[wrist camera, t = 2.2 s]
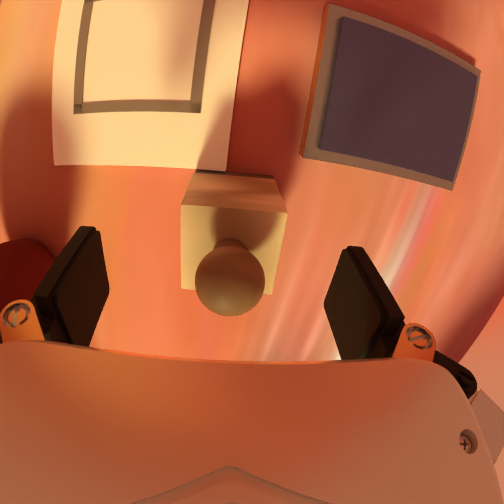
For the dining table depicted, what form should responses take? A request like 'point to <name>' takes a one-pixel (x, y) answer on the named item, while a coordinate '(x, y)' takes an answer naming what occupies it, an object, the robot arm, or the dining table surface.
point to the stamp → (231, 238)
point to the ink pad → (388, 100)
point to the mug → (22, 269)
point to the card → (146, 82)
